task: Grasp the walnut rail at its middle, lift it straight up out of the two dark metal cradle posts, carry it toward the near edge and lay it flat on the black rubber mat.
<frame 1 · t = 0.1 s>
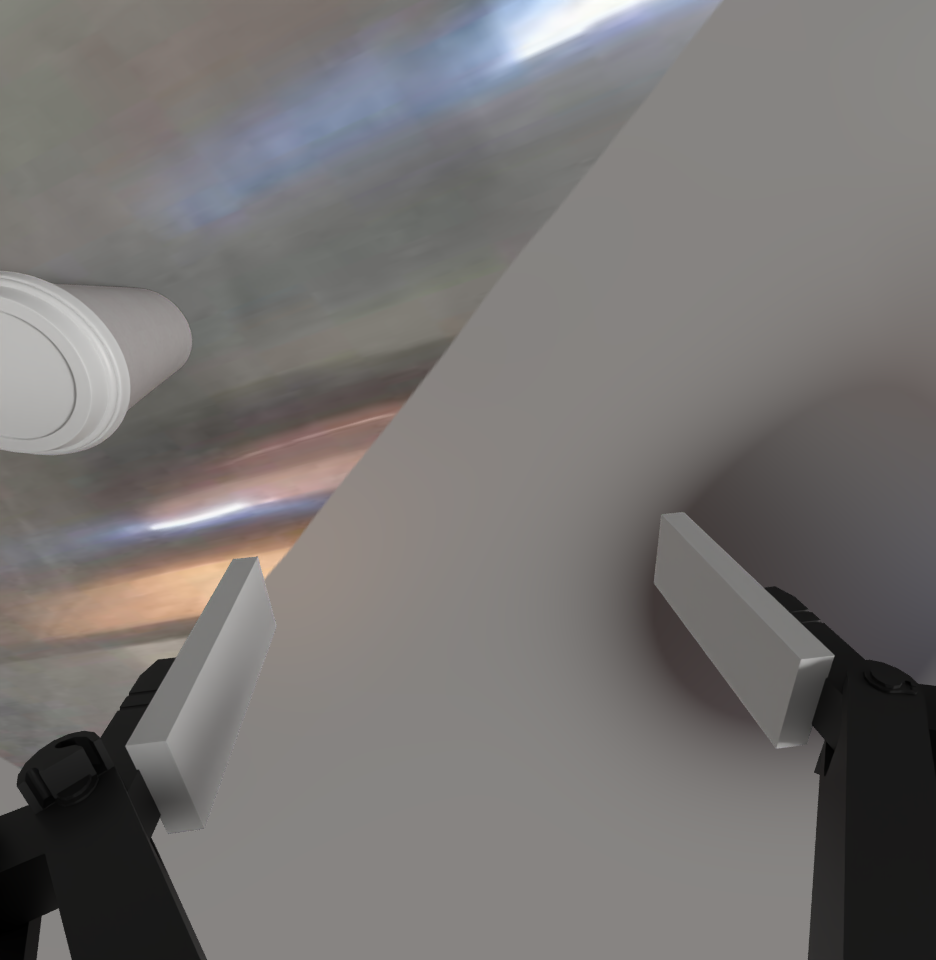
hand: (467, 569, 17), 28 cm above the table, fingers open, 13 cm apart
coffee cup: (147, 333, 39), on the table
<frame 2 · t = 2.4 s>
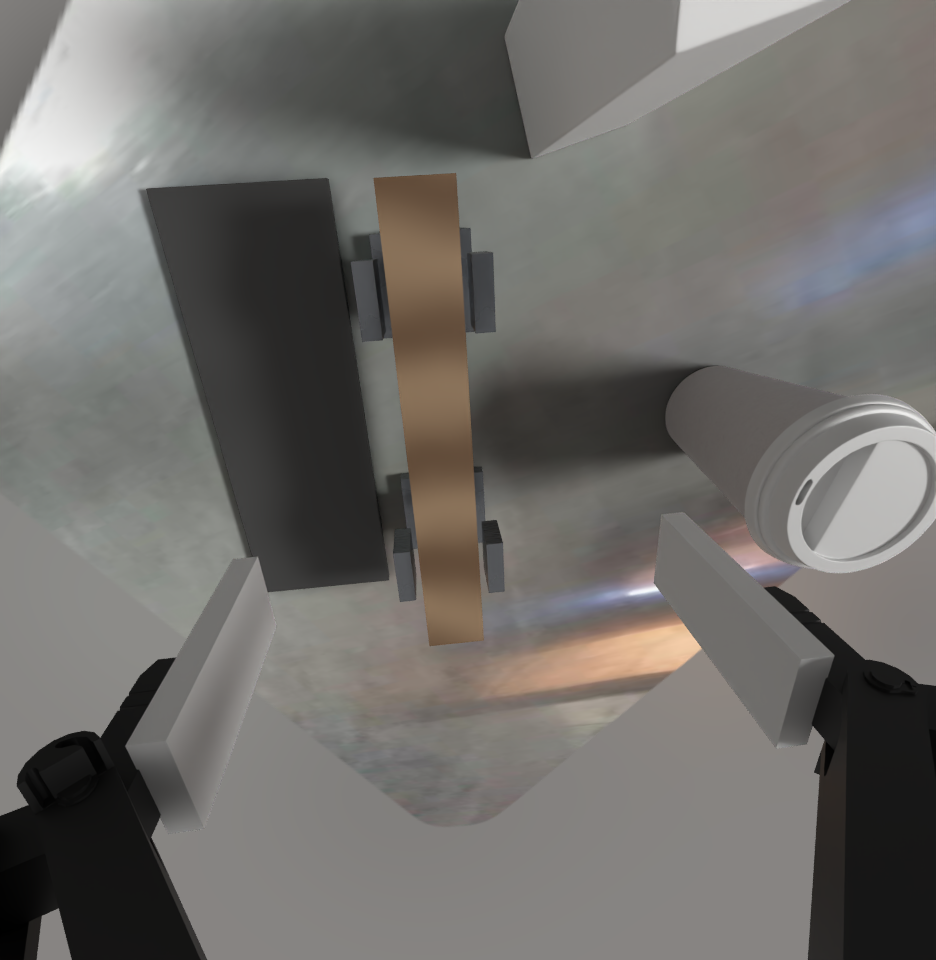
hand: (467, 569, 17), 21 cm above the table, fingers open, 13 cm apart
post a: (424, 283, 32), on the table
mat: (291, 417, 35), on the table
rail: (438, 434, 30), point 6 cm above the table, touching post a, post b
milk: (567, 82, 29), on the table
post b: (444, 505, 39), on the table
coffee cup: (706, 408, 38), on the table
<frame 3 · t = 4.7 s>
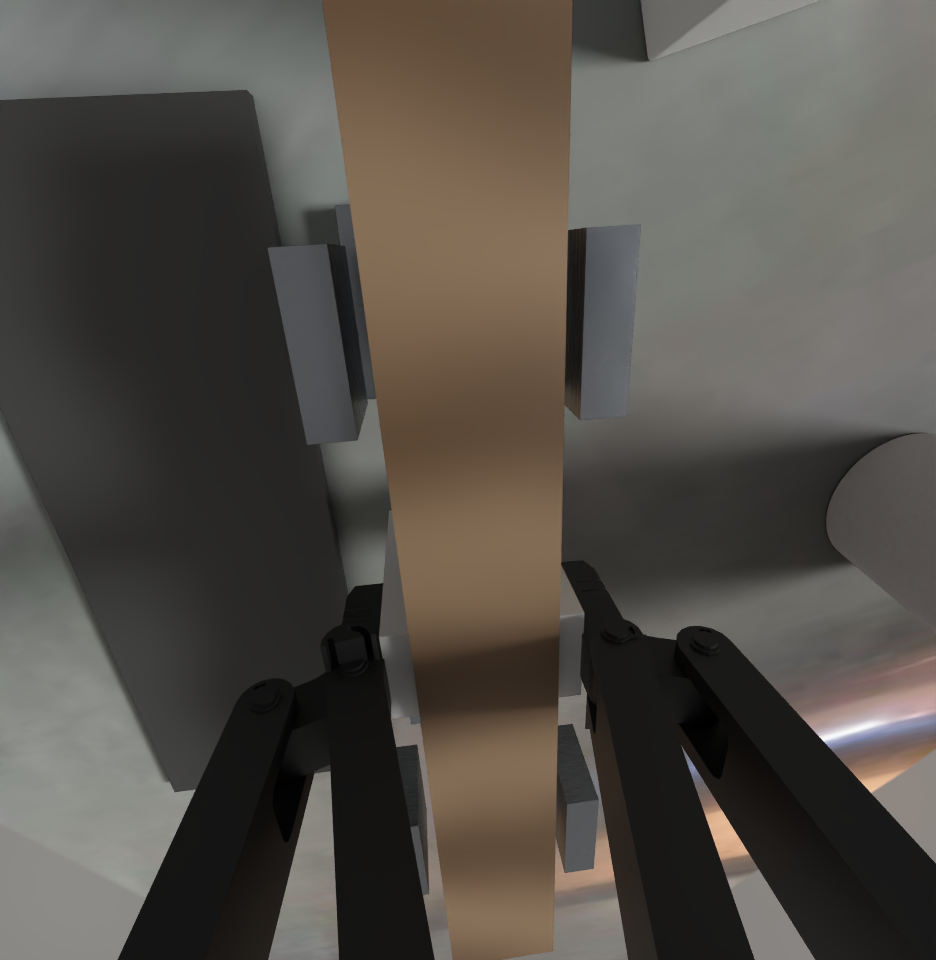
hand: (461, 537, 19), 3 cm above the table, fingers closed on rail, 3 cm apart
post a: (440, 300, 18), on the table
mat: (206, 530, 20), on the table
rail: (472, 593, 16), point 6 cm above the table, touching gripper, post a, post b
post b: (467, 653, 24), on the table
coffee cup: (890, 498, 23), on the table
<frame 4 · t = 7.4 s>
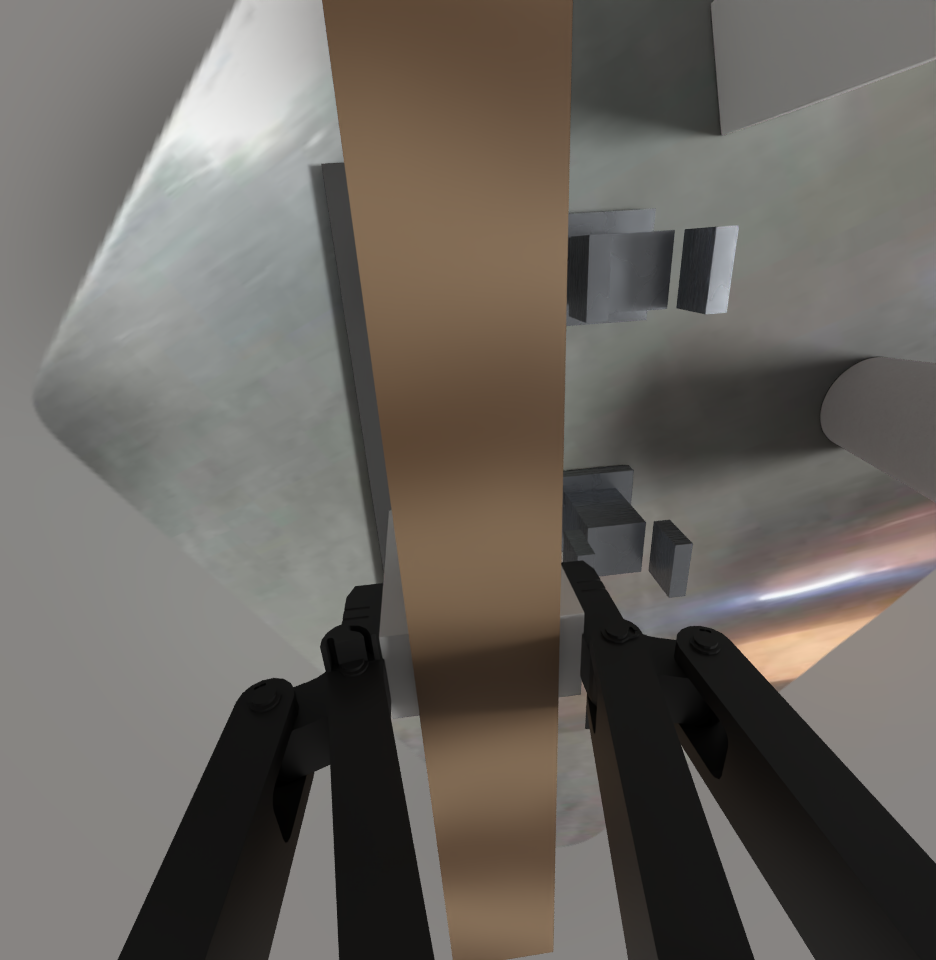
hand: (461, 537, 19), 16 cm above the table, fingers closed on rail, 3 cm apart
post a: (595, 269, 30), on the table
mat: (439, 412, 33), on the table
rail: (472, 594, 16), point 19 cm above the table, touching gripper
milk: (766, 55, 27), on the table
post b: (585, 506, 37), on the table
coffee cup: (862, 402, 36), on the table
when the fingers open (1 cm above the table, at t = 10.0 s): rail drops 3 cm, resting on mat.
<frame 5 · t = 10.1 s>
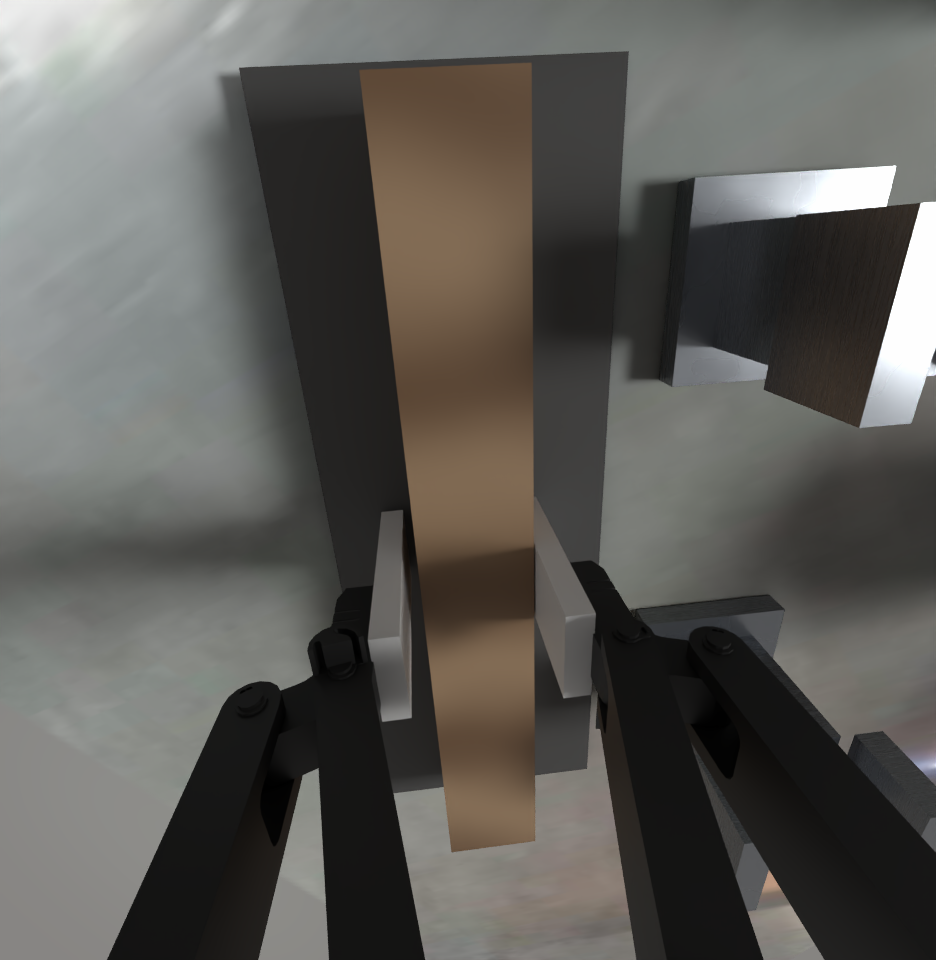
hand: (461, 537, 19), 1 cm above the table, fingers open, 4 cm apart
post a: (757, 282, 17), on the table
mat: (467, 524, 19), on the table
rail: (467, 533, 19), point 1 cm above the table, touching mat
post b: (694, 655, 23), on the table
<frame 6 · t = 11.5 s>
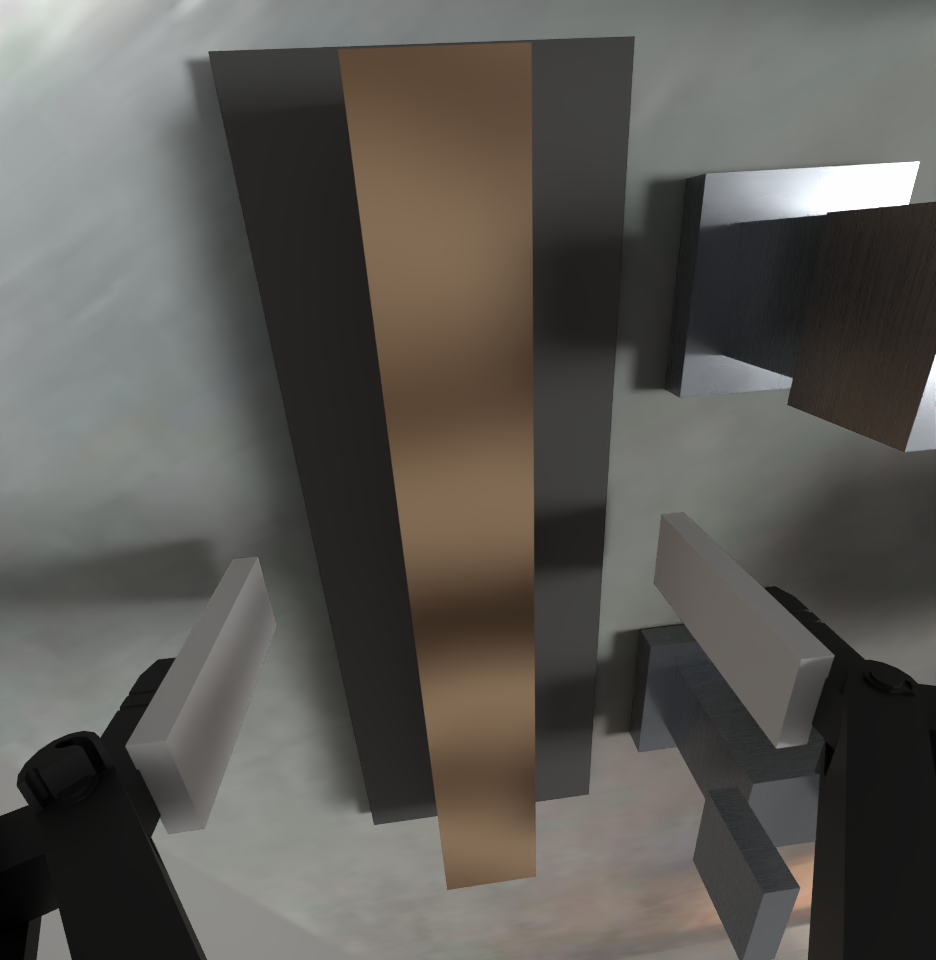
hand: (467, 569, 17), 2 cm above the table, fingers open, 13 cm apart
post a: (769, 285, 16), on the table
mat: (462, 542, 18), on the table
rail: (462, 553, 18), point 1 cm above the table, touching mat
post b: (701, 675, 22), on the table
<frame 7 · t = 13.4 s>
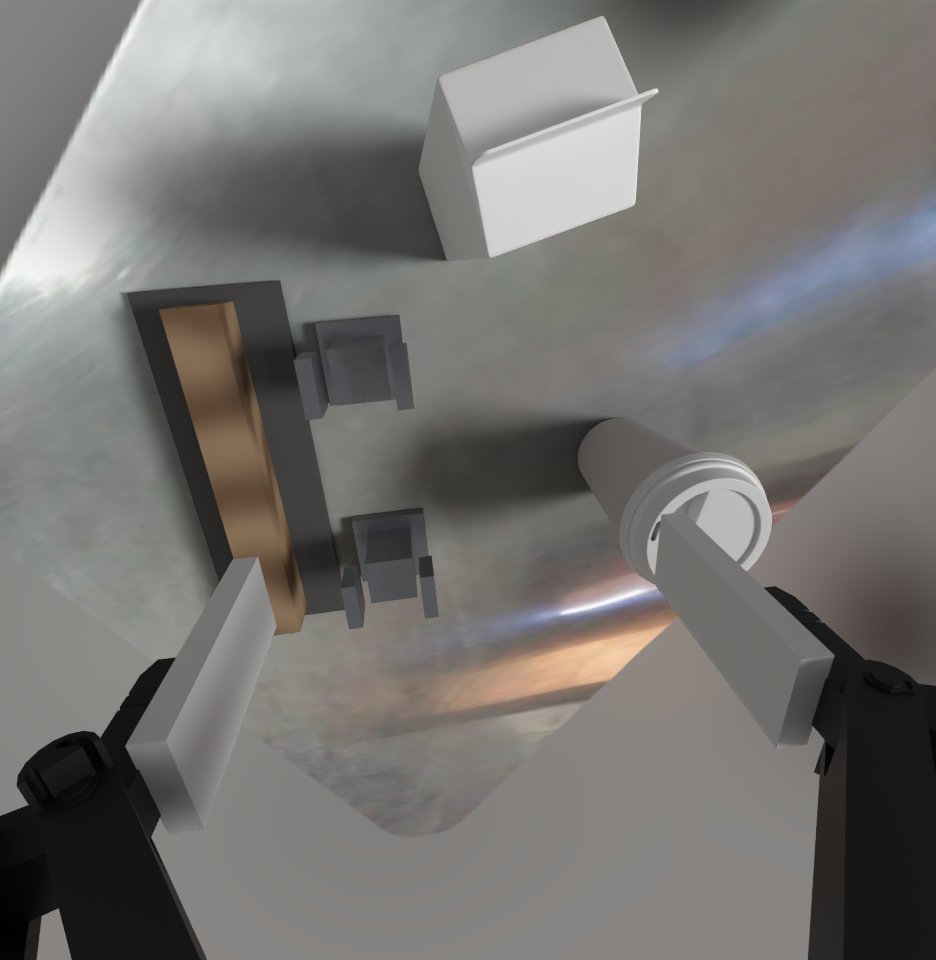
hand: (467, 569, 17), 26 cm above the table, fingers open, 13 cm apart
post a: (364, 359, 39), on the table
mat: (254, 472, 41), on the table
rail: (252, 475, 40), point 1 cm above the table, touching mat
milk: (472, 202, 36), on the table
post b: (392, 542, 45), on the table
coffee cup: (612, 452, 44), on the table
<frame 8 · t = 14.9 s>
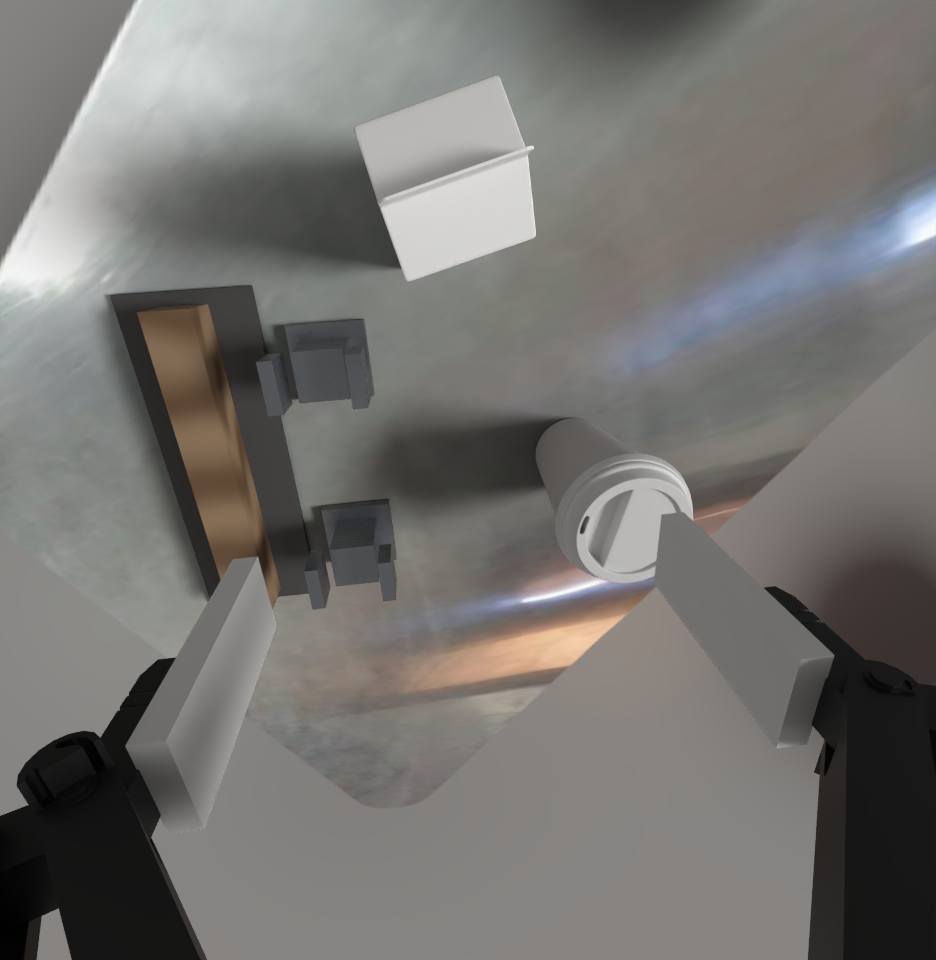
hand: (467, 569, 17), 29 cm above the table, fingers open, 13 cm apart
post a: (332, 359, 41), on the table
mat: (230, 462, 44), on the table
rail: (227, 465, 43), point 1 cm above the table, touching mat
milk: (431, 215, 38), on the table
post b: (360, 530, 48), on the table
coffee cup: (569, 451, 47), on the table
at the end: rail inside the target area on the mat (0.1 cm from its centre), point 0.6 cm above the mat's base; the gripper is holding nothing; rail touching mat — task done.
